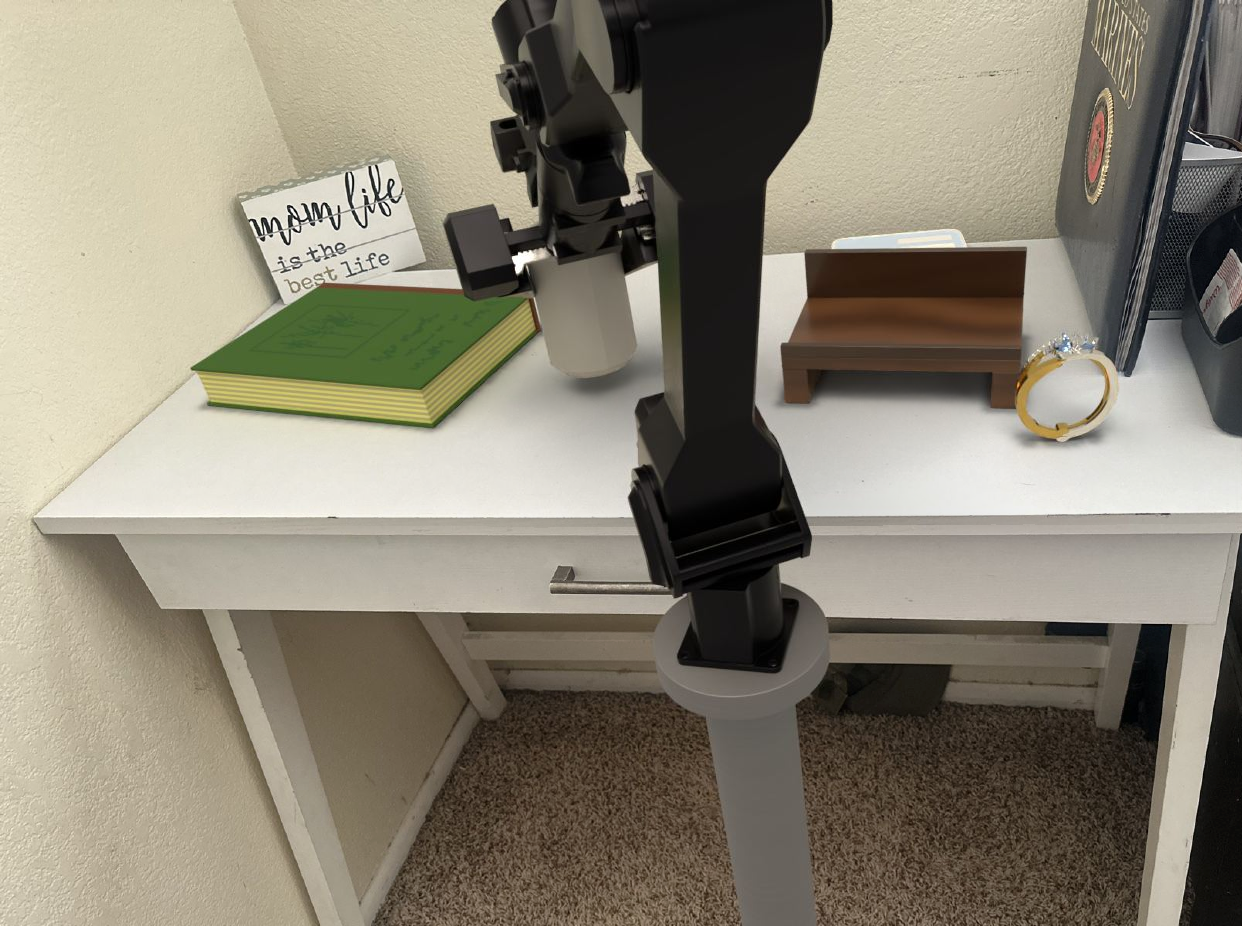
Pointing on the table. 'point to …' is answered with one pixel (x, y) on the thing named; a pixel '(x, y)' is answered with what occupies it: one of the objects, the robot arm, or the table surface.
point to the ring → (1064, 351)
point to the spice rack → (909, 315)
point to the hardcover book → (370, 353)
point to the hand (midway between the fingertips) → (576, 281)
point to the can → (584, 314)
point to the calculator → (904, 240)
